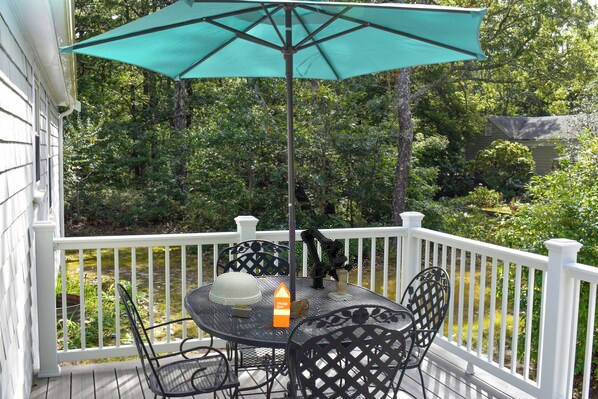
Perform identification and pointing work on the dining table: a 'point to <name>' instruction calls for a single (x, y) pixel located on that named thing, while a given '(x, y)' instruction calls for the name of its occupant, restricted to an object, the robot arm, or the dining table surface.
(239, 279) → the dome cover
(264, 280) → the dining table surface
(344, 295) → the stone trivet
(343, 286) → the oak block
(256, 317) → the dining table surface
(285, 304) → the orange juice
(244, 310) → the platform
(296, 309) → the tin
